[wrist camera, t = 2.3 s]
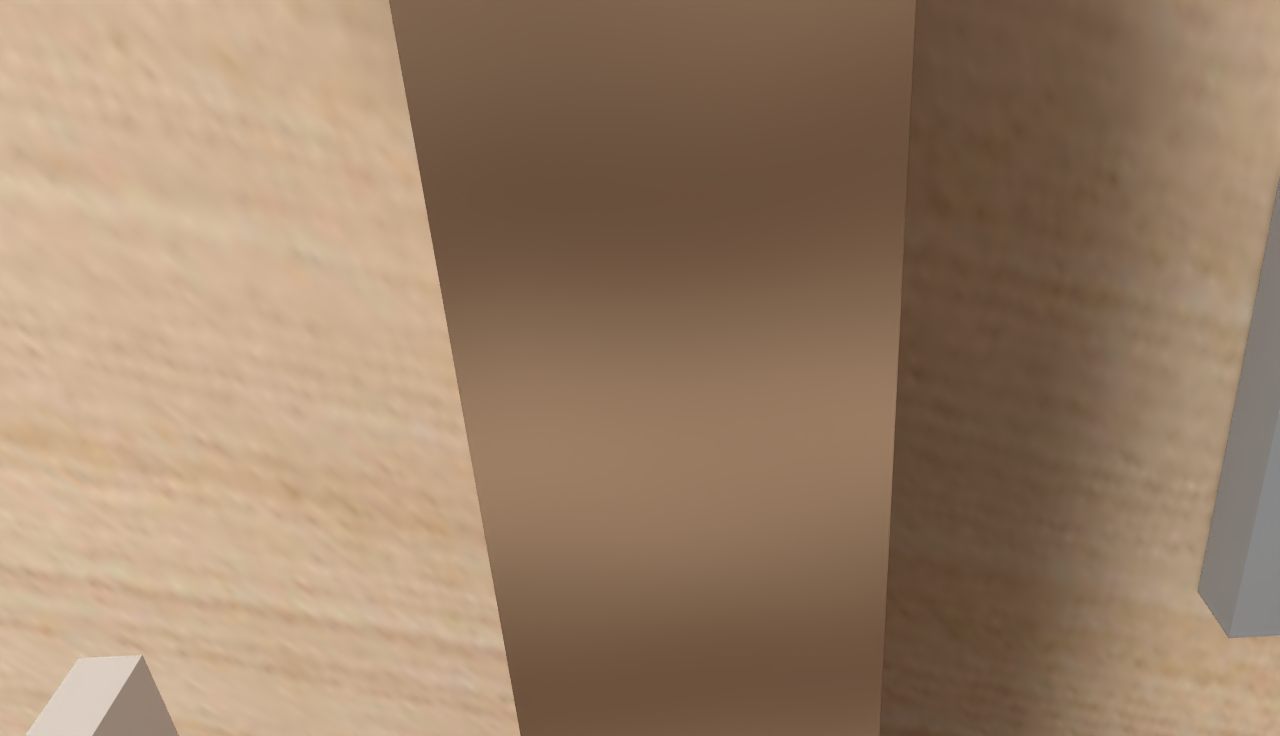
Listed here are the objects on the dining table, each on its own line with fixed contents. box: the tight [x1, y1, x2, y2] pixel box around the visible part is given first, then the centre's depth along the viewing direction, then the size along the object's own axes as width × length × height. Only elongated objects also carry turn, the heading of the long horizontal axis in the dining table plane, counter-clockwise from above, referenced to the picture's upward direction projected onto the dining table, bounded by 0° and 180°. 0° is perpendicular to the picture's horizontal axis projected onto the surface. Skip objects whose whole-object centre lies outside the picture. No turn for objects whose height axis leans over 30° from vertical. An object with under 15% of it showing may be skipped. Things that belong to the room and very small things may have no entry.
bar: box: [389, 0, 916, 736], centre depth 15 cm, size 22×4×6 cm, turn 4°
